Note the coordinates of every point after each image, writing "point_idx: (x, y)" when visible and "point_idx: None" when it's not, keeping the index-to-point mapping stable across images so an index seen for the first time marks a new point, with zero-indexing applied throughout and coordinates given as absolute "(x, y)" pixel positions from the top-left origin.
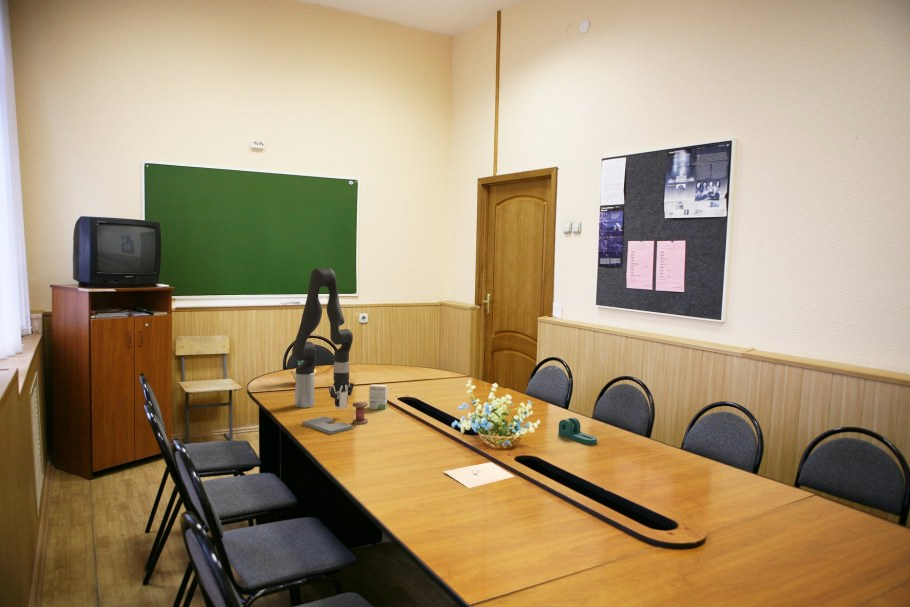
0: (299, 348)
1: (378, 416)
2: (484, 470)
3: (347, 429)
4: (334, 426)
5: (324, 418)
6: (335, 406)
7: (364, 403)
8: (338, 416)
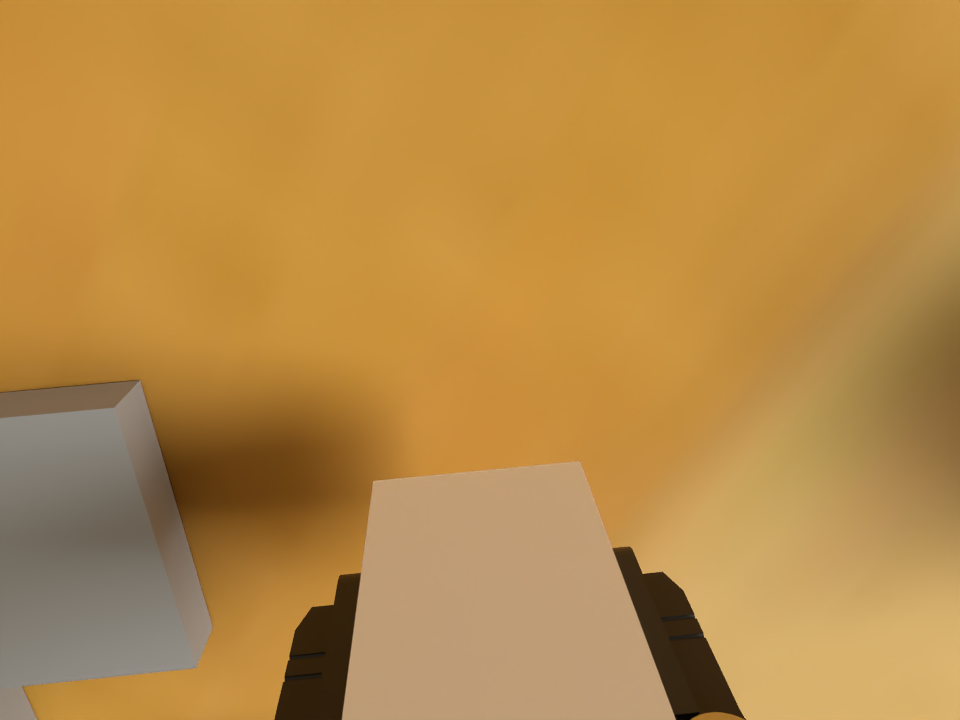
0: None
1: (899, 698)
2: None
3: None
4: None
5: (62, 538)
6: (372, 509)
7: None
8: (461, 373)
